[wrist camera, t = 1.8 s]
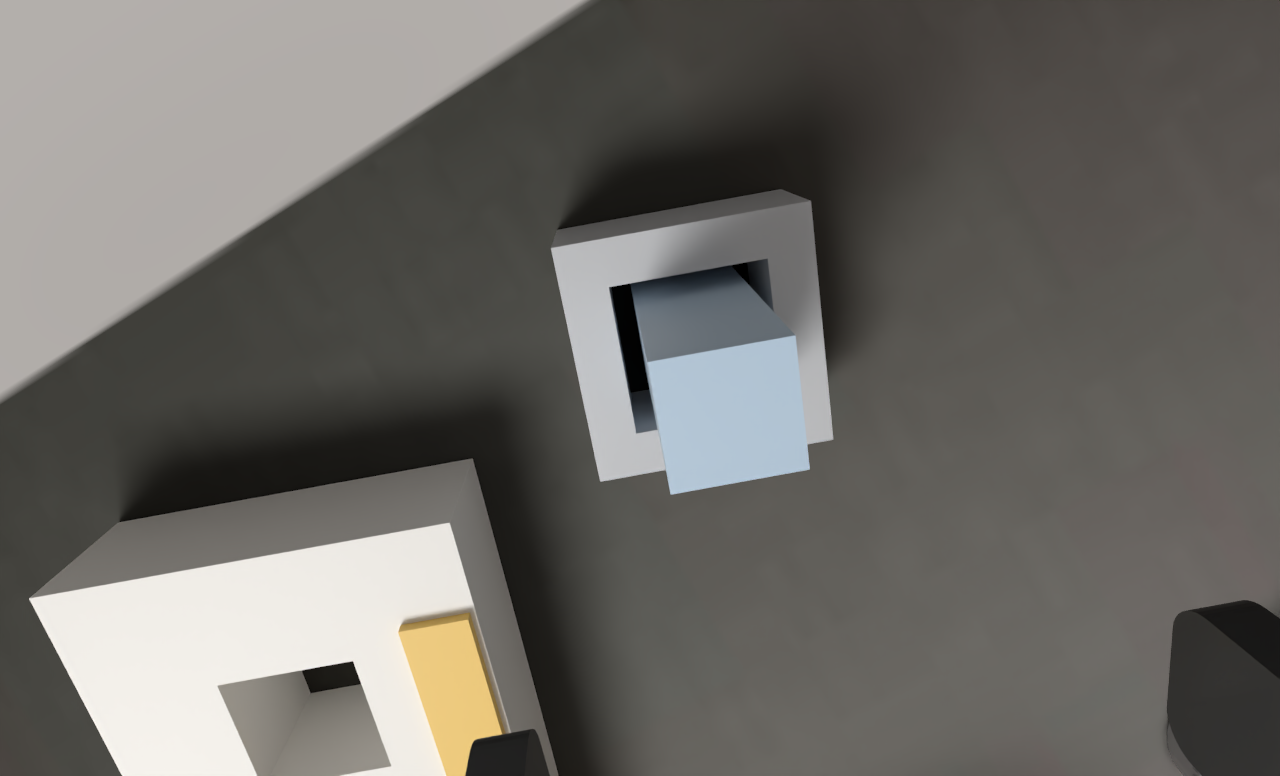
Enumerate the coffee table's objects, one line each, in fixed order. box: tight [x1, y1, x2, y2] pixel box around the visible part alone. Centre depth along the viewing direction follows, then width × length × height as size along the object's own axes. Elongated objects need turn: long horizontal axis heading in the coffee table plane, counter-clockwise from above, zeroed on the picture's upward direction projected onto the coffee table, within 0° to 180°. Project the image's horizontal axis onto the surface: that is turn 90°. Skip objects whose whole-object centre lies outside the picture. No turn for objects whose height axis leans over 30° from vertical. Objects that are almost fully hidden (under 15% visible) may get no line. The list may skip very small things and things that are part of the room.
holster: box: [551, 189, 833, 482], centre depth 26 cm, size 8×8×4 cm
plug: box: [630, 265, 810, 494], centre depth 24 cm, size 4×4×10 cm
